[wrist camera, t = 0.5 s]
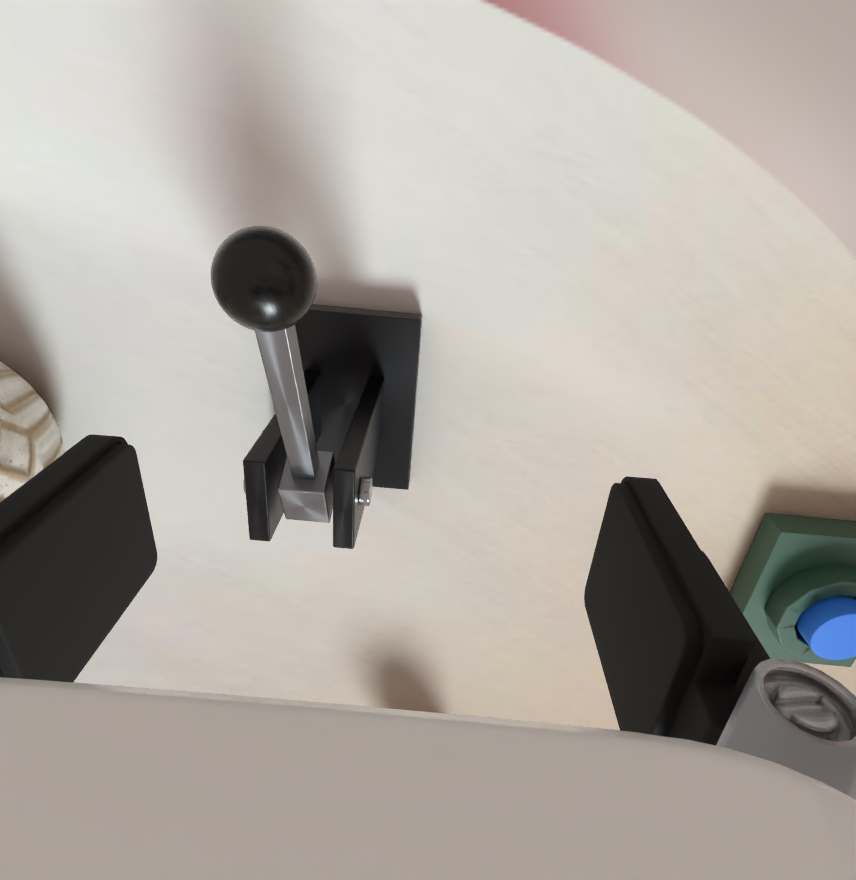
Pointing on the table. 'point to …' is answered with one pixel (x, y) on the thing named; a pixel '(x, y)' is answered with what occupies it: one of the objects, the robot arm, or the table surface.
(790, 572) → the switch box
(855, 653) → the button
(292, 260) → the lever
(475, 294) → the table surface
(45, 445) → the vase
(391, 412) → the switch bracket
